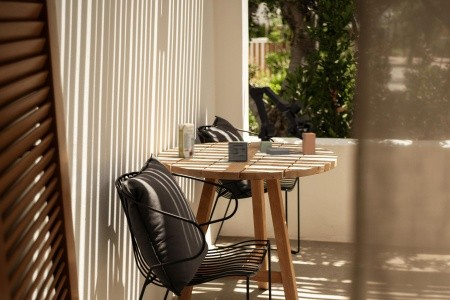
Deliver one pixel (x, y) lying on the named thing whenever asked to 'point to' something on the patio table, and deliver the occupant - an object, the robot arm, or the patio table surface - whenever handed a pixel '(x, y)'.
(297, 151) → the card
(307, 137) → the terracotta block
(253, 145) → the patio table surface
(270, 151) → the slate base block
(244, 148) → the small box
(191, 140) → the juice carton
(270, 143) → the sage cube
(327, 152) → the patio table surface
